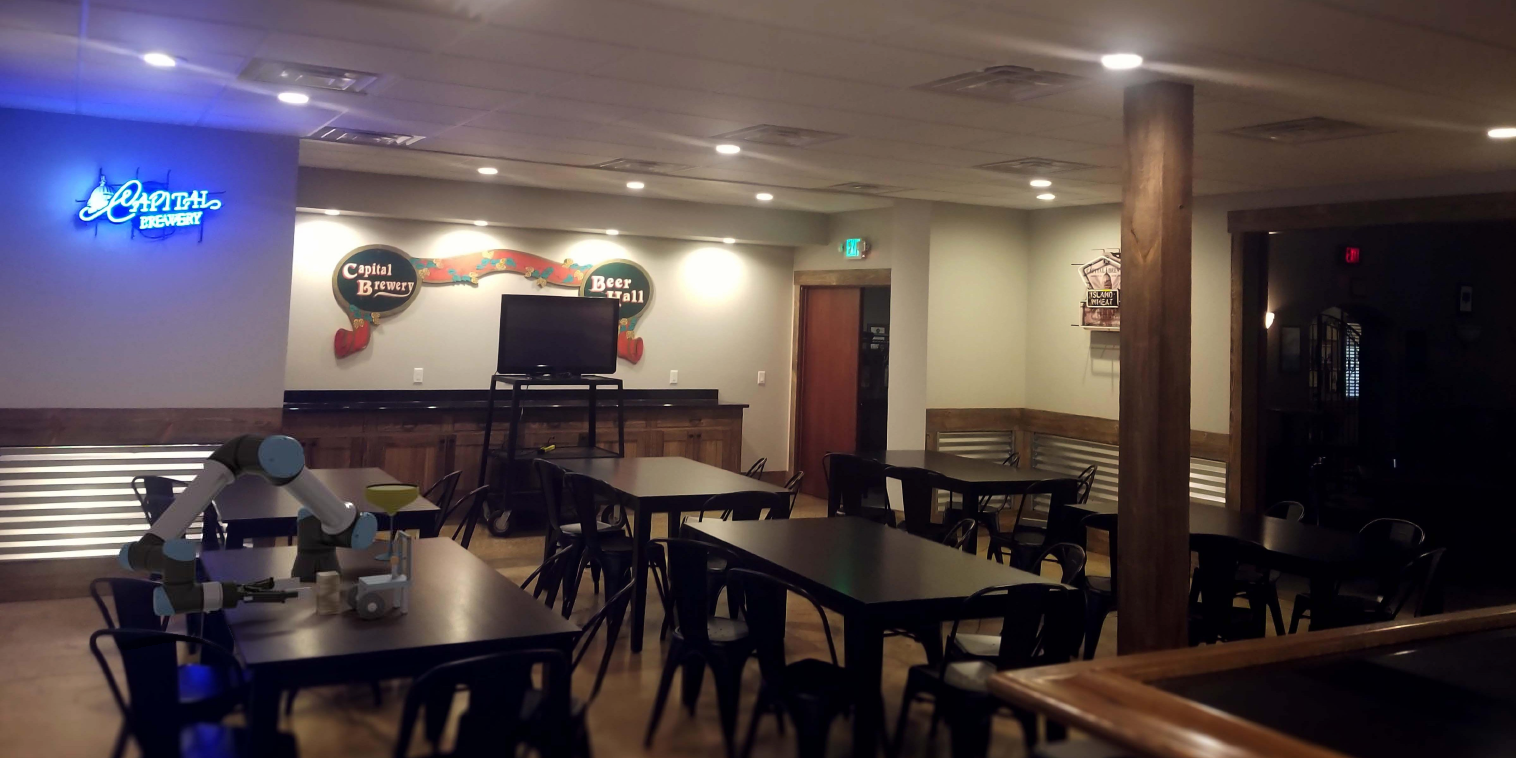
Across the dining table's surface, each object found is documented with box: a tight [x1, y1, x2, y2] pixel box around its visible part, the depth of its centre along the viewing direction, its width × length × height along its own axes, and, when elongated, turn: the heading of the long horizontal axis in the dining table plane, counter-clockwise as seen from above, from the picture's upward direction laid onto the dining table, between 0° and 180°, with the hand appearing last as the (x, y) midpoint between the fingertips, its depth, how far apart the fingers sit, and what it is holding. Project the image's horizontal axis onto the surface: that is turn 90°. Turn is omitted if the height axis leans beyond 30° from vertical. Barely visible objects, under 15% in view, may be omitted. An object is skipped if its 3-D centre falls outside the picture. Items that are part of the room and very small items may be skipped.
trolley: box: [344, 530, 413, 621], centre depth 306 cm, size 15×15×22 cm
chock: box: [315, 571, 341, 616], centre depth 304 cm, size 5×5×11 cm
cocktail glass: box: [364, 482, 420, 562], centre depth 379 cm, size 18×18×25 cm
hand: (304, 587), depth 301 cm, fingers open, 13 cm apart
